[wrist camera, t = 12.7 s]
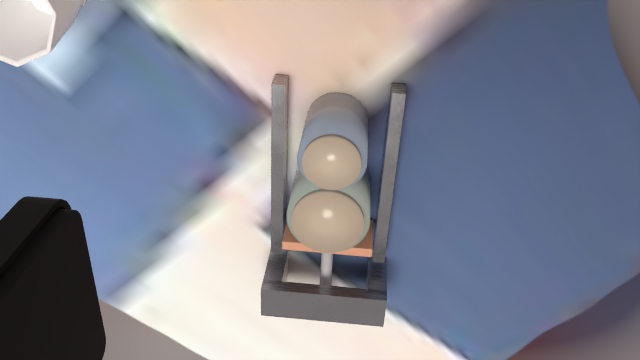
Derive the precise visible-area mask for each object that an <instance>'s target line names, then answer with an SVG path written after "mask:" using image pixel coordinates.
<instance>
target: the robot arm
mask: <svg viewBox="0 0 640 360" xmlns="http://www.w3.org/2000/svg"><path fill="white" fill-rule="evenodd" d="M105 345H106V337H105V331H104V326H103V321H102V316H101V312H100V306H99V302H98V296H97V291H96V286H95V282H94V277H93V272H92V267H91V262H90V257H89V252H88V247H87V242H86V237H85V232H84V227H83V222H82V218H81V215H80V213H79V212H78V211H76V210H71V207H70V205H69V204H68V202H67V201H65V200H63V199H52V198H41V197H29V196H28V197H23V198H22V199H21V200H19V201H18V202H17V203H16V204H15V205H14V206H13V207H12V208H11V210H10V211H9V212H8V213H7V214H6V215H5V216H4V217H3V218H2V219H1V220H0V360H102V358H103V355H104V352H105Z"/></svg>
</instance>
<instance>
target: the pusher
mask: <svg viewBox="0 0 640 360" xmlns="http://www.w3.org/2000/svg"><path fill="white" fill-rule="evenodd" d="M372 242H373V220H370V225H369V229H368V232H367V234H366V235H365V237H364V238H363V239H362V240H361V241H360V242H359V243H358V244H357V245H355V246H354V247H352V248H350V249H347V250H344V251H341V252H335V253H325V252H319V251H316V250H313V249H311V248H308V247H306V246H305V245H303V244H302V243H300V242H299V241H298V240H297V239H296V238H295V237H294V236H293V234H292V233H291V231H290V229H289V227H288V223H286V228H285V232H284V236H283V241H282V249H285V250H297V251H308V252H319V253H322V257H321V274H320V285H326V286H331V278H332V264H333V254H342V255H353V256H365V257H372Z"/></svg>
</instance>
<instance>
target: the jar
mask: <svg viewBox="0 0 640 360" xmlns="http://www.w3.org/2000/svg"><path fill="white" fill-rule="evenodd" d="M368 125H369V119H368V114H367V111H366V109H365V107H364V106H363V105H362V103H361V102H360V101H359V100H357V99H356V98H355V97H353V96H351V95H348V94H345V93H329V94H325V95H323V96H321V97H319V98H318V99H316V100H315V101H314V102H313V104H312V105H311V106H310V108H309V110H308V113H307V117H306V121H305V125H304V129H303V134H302V138H301V142H300V146H299V150H298V155H297V162H298V167H299V169H300V171H301V173H302V175H303V176H304V177H305V178H306V180H308V181H309V182H310V183H311V184H313V185H315V186H317V187H319V188H322V189H326V190H341V189H345V188H348V187H350V186H352V185H354V184H355V183H356V182H358V181H359V180H360V179H361V177H362V176H363V175H364V173H365V170H366V167H367V155H368Z"/></svg>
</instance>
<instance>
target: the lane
mask: <svg viewBox="0 0 640 360" xmlns="http://www.w3.org/2000/svg"><path fill="white" fill-rule="evenodd" d="M405 98H406V90H405V84H399V83H392V86H391V95H390V103H389V112H388V121H387V129H386V138H385V147H384V155H383V164H382V173H381V181H380V190H379V199H378V207H377V216H376V225H375V233H374V242H373V257H368V266H367V275H366V289H359V288H348V287H337V286H326V285H315V284H304V283H293V282H286V281H287V276H288V250H285V249H282V241H283V236H284V232H285V228H286V180H287V123H288V75H278V74H275V77H274V79H273V82H272V124H271V251H270V255H269V259H268V263H267V267H266V271H265V275H264V279H263V283H262V287H261V315H264V316H275V317H285V318H296V319H306V320H317V321H328V322H338V323H349V324H360V325H370V326H381V327H383V324H384V317H385V310H386V303H387V286H386V258H385V251H386V244H387V236H388V228H389V221H390V213H391V205H392V198H393V190H394V182H395V174H396V167H397V159H398V151H399V144H400V136H401V128H402V121H403V113H404V105H405Z"/></svg>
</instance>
